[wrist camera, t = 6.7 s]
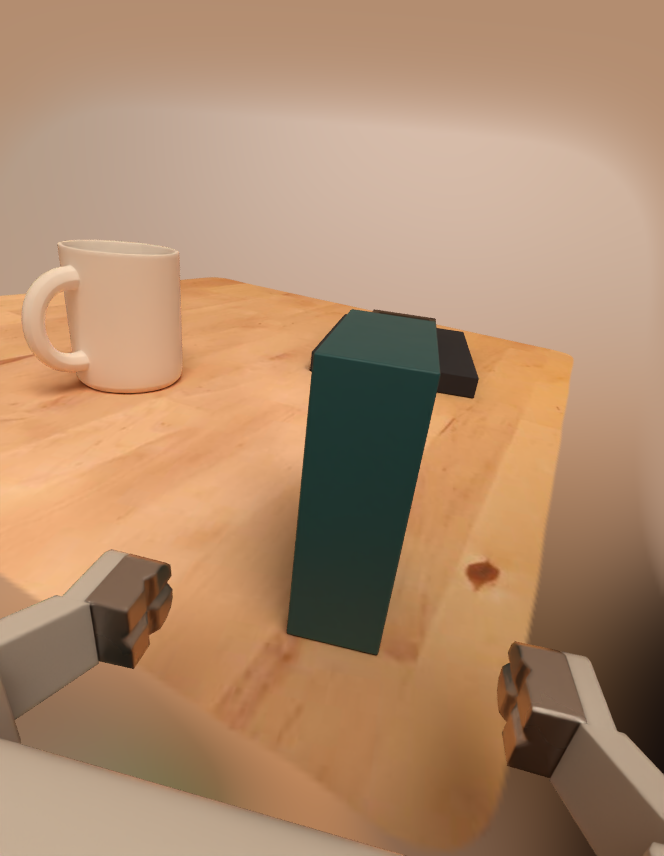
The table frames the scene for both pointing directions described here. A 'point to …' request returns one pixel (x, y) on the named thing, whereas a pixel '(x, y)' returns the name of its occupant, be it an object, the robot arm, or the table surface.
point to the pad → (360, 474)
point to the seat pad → (445, 359)
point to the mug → (112, 314)
